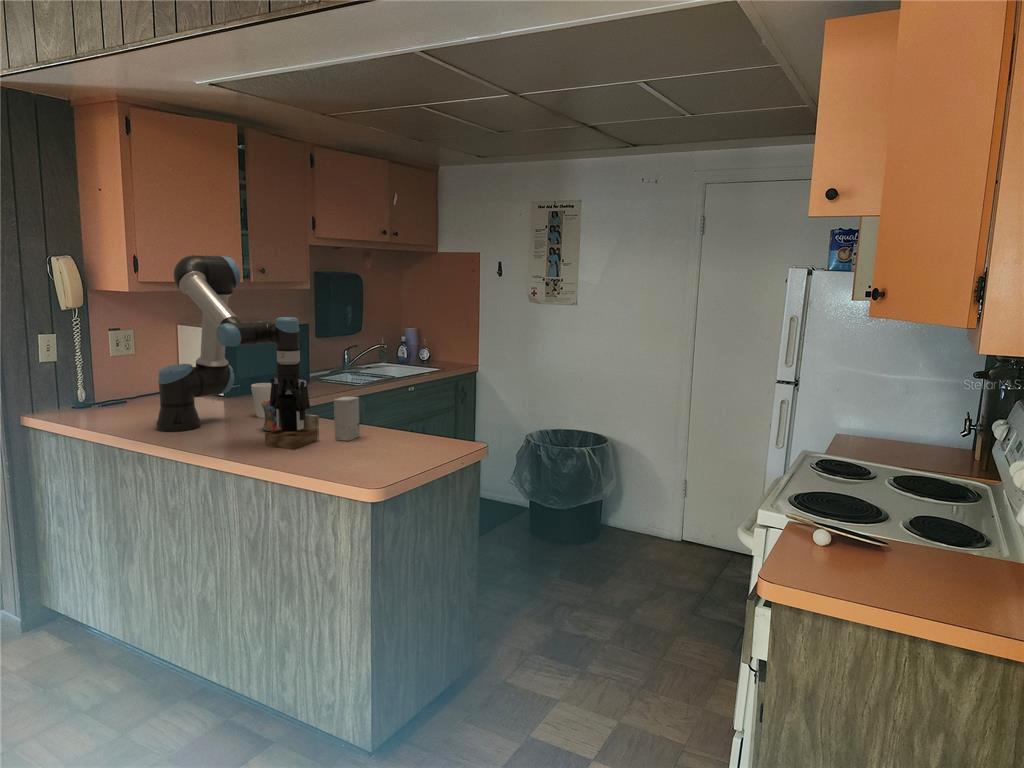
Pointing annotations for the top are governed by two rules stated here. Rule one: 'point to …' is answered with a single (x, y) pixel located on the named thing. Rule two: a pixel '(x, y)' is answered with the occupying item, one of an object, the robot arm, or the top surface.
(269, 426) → the colourful snack bag
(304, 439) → the display pedestal
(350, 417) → the skincare box
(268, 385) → the foam cup
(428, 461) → the top surface
